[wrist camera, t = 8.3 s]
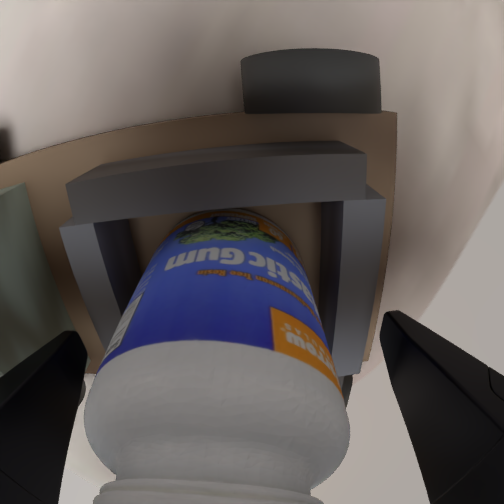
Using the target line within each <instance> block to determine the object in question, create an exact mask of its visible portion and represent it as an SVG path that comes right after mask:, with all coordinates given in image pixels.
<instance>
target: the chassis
mask: <svg viewBox="0 0 504 504" xmlns="http://www.w3.org/2000/svg"><path fill="white" fill-rule="evenodd" d="M241 72H242V85H243V97H244V110H245V112H235V113H224V114H214V115H206V116H197V117H190V118H182V119H175V120H169V121H162V122H156V123H151V124H145V125H139V126H134V127H129V128H124V129H119V130H114V131H110V132H105V133H101V134H97V135H92V136H88V137H84V138H80V139H76V140H73V141H69V142H65V143H62V144H58V145H55V146H51V147H48V148H44V149H41V150H38V151H35V152H31V153H28V154H25V155H22V156H19V157H16V158H13V159H11V160H8V161H5V162H2V163H0V377H1V376H3V375H4V374H5V373H7V372H8V371H9V370H11V369H12V368H13V367H15V366H16V365H18V364H19V363H20V362H22V361H23V360H24V359H26V358H27V357H28V356H30V355H31V354H33V353H34V352H35V351H37V350H38V349H40V348H41V347H42V346H44V345H45V344H46V343H48V342H49V341H51V340H52V339H54V338H55V337H56V336H58V335H59V334H61V333H62V332H63V331H66V330H74V331H77V332H78V333H79V335H80V337H81V339H82V341H83V343H84V345H85V347H86V349H87V353H88V359H87V364H86V369H85V373H92V374H97V371H98V369H99V367H100V364H101V362H102V360H103V358H104V355H105V353H106V351H107V348H108V346H109V344H110V342H111V339H112V337H113V335H114V333H115V331H116V329H117V326H118V324H119V322H120V320H121V318H122V316H123V314H124V311H125V309H126V307H127V306H128V304H129V301H130V299H131V297H132V295H133V293H134V291H135V289H136V287H137V285H138V283H139V281H140V279H141V278H142V276H143V274H144V272H145V270H146V268H147V266H148V264H149V262H150V260H151V258H152V256H153V255H154V253H155V251H156V249H157V248H158V246H159V245H160V243H161V242H162V240H163V239H164V238H165V237H166V235H167V234H168V233H169V232H170V231H171V230H172V229H173V228H174V227H175V226H176V225H177V224H179V223H180V222H182V221H183V220H185V219H186V218H188V217H190V216H192V215H195V214H197V213H200V212H203V211H207V210H215V209H226V208H234V209H241V210H246V211H250V212H253V213H256V214H258V215H261V216H263V217H265V218H266V219H268V220H270V221H271V222H273V223H274V224H276V225H277V226H278V227H280V228H281V229H282V230H283V231H284V232H285V233H286V234H287V235H288V236H289V238H290V239H291V240H292V242H293V243H294V245H295V247H296V248H297V250H298V253H299V255H300V257H301V259H302V262H303V265H304V268H305V271H306V274H307V278H308V281H309V284H310V287H311V291H312V294H313V297H314V301H315V304H316V307H317V310H318V314H319V317H320V320H321V324H322V327H323V330H324V333H325V337H326V341H327V344H328V347H329V351H330V354H331V357H332V360H333V363H334V367H335V370H336V374H337V377H338V379H339V383H340V387H341V391H342V395H343V398H344V403H345V408H346V407H347V403H348V399H349V395H350V391H351V387H352V381H353V377H352V375H353V374H359V373H360V370H361V365H362V362H363V361H368V360H369V355H370V351H371V347H372V342H373V338H374V333H375V328H376V323H377V318H378V313H379V308H380V302H381V297H382V291H383V285H384V279H385V272H386V265H387V258H388V250H389V242H390V234H391V225H392V214H393V203H394V190H395V173H396V148H397V113H395V112H387V111H381V85H380V66H379V59H378V58H377V57H375V56H373V55H370V54H366V53H361V52H355V51H348V50H339V49H317V48H312V49H289V50H278V51H271V52H265V53H260V54H255V55H251V56H248V57H245V58H243V59H242V60H241ZM85 391H86V386H85V382H84V380H83V386H82V392H81V397H80V401H79V405H80V404H81V402H82V400H83V398H84V395H85ZM79 405H78V406H79Z"/></svg>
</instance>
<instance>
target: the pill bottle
mask: <svg viewBox="0 0 504 504" xmlns="http://www.w3.org/2000/svg"><path fill="white" fill-rule="evenodd" d="M84 425H85V431H86V435H87V438H88V441H89V443H90V445H91V447H92V449H93V451H94V452H95V454H96V455H97V456H98V458H99V459H100V460H101V461H102V462H103V464H104V465H105V466H106V467H107V468H109V469H110V470H111V471H112V472H113V473H114V474H116V475H117V476H116V481H113V482H109V483H107V484H105V485H103V486H102V487H101V489H100V494H99V495H97V496H96V497H95V498H94V500H93V504H324V503H323V502H322V501H321V500H319V499H317V498H315V497H312V496H311V495H310V490H311V489H313V488H315V487H316V486H318V485H319V484H321V483H322V482H323V481H325V480H326V479H327V478H328V477H330V476H331V474H333V473H334V471H335V470H336V469H337V468H338V467H339V465H340V464H341V462H342V460H343V459H344V457H345V455H346V452H347V449H348V446H349V440H350V425H349V421H348V416H347V412H346V408H345V403H344V398H343V395H342V391H341V387H340V383H339V379H338V377H337V374H336V370H335V367H334V363H333V360H332V357H331V354H330V351H329V347H328V344H327V341H326V337H325V333H324V330H323V327H322V324H321V320H320V317H319V314H318V310H317V307H316V304H315V301H314V297H313V294H312V291H311V287H310V284H309V281H308V278H307V274H306V271H305V268H304V265H303V262H302V259H301V257H300V255H299V253H298V250H297V248H296V247H295V245H294V243H293V242H292V240H291V239H290V238H289V236H288V235H287V234H286V233H285V232H284V231H283V230H282V229H281V228H280V227H278V226H277V225H276V224H274V223H273V222H271V221H270V220H268V219H266V218H265V217H263V216H261V215H258V214H256V213H253V212H250V211H246V210H241V209H234V208H226V209H215V210H207V211H203V212H200V213H197V214H195V215H192V216H190V217H188V218H186V219H185V220H183V221H182V222H180V223H179V224H177V225H176V226H175V227H174V228H173V229H172V230H171V231H170V232H169V233H168V234H167V235H166V237H165V238H164V239H163V240H162V242H161V243H160V245H159V246H158V248H157V249H156V251H155V253H154V255H153V256H152V258H151V260H150V262H149V264H148V266H147V268H146V270H145V272H144V274H143V276H142V278H141V279H140V281H139V283H138V285H137V287H136V289H135V291H134V293H133V295H132V297H131V299H130V301H129V304H128V306H127V307H126V309H125V311H124V314H123V316H122V318H121V320H120V322H119V324H118V326H117V329H116V331H115V333H114V335H113V337H112V339H111V342H110V344H109V346H108V348H107V351H106V353H105V355H104V358H103V360H102V362H101V364H100V367H99V369H98V371H97V374H96V376H95V379H94V381H93V384H92V387H91V389H90V392H89V394H88V398H87V401H86V405H85V410H84Z"/></svg>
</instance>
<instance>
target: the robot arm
mask: <svg viewBox="0 0 504 504" xmlns="http://www.w3.org/2000/svg"><path fill="white" fill-rule="evenodd" d="M380 343H381V347H382V350H383V354H384V358H385V362H386V365H387V369H388V373H389V377H390V381H391V385H392V387H393V391H394V393H395V396H396V399H397V401H398V404H399V407H400V410H401V413H402V416H403V418H404V421H405V424H406V427H407V430H408V433H409V436H410V439H411V442H412V445H413V448H414V451H415V454H416V457H417V460H418V463H419V467H420V470H421V473H422V477H423V480H424V483H425V487H426V490H427V494H428V498H429V501H430V504H504V376H503V375H501V374H499V373H498V372H497V371H495V370H493V369H492V368H490V367H489V368H488V366H487V365H486V364H484V363H483V362H481V361H479V360H478V359H476V358H475V357H473V356H472V355H470V354H468V353H467V352H465V351H464V350H462V349H461V348H459V347H457V346H456V345H454V344H453V343H451V342H449V341H448V340H446V339H445V338H443V337H441V336H440V335H438V334H437V333H435V332H433V331H432V330H430V329H429V328H427V327H425V326H424V325H422V324H420V323H419V322H417V321H416V320H414V319H412V318H411V317H409V316H407V315H406V314H404V313H402V312H401V311H399V310H395V311H388V312H386V313H385V314H384V317H383V321H382V326H381V331H380ZM87 359H88V353H87V349H86V347H85V345H84V343H83V341H82V339H81V337H80V335H79V333H78V332H77V331H74V330H66V331H63V332H62V333H61V334H59V335H58V336H56V337H55V338H54V339H52V340H51V341H49V342H48V343H46V344H45V345H44V346H42V347H41V348H40V349H38V350H37V351H35V352H34V353H33V354H31V355H30V356H28V357H27V358H26V359H24V360H23V361H22V362H20V363H19V364H18V365H16V366H15V367H13V368H12V369H11V370H9V371H8V372H7V373H5V374H4V375H3V376H1V377H0V504H58V501H59V494H60V488H61V482H62V477H63V471H64V466H65V461H66V456H67V451H68V447H69V442H70V438H71V433H72V429H73V425H74V421H75V417H76V413H77V409H78V405H79V401H80V397H81V392H82V386H83V380H84V374H85V369H86V364H87Z"/></svg>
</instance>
